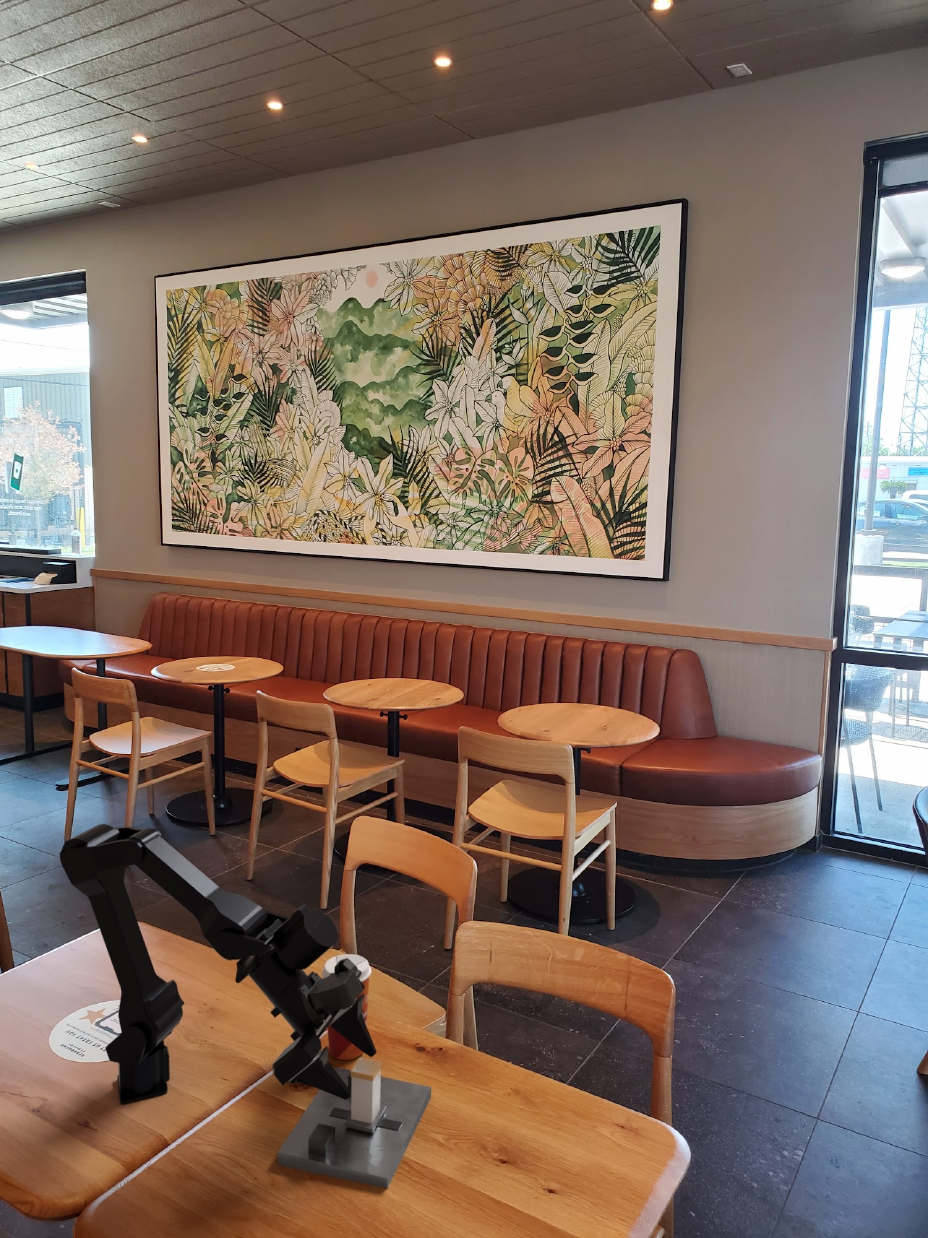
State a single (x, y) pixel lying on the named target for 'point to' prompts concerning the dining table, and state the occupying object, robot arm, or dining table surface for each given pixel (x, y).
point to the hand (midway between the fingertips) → (361, 1075)
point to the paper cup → (337, 1042)
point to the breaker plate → (356, 1134)
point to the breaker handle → (365, 1095)
